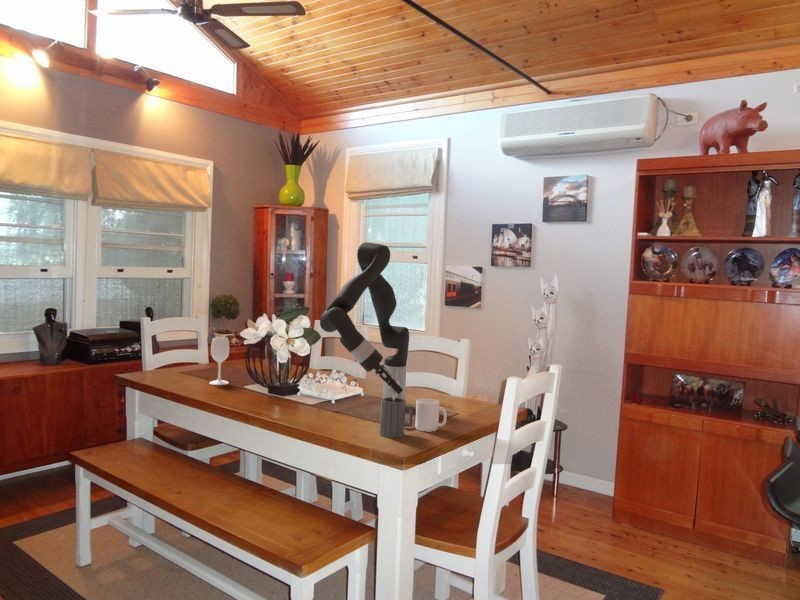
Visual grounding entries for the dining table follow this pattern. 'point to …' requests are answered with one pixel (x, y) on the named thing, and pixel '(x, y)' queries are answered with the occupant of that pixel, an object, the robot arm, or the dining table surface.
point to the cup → (428, 415)
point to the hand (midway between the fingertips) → (399, 390)
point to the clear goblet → (394, 390)
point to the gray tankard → (394, 417)
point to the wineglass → (219, 356)
